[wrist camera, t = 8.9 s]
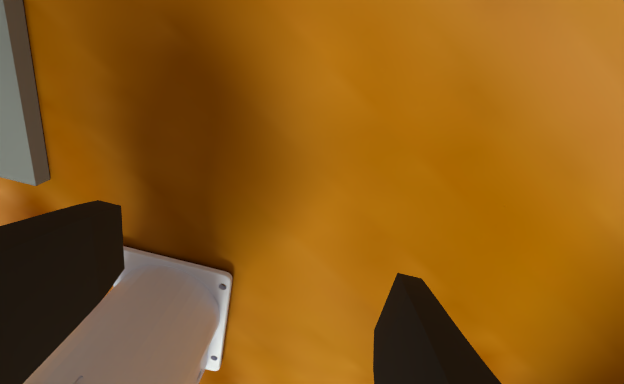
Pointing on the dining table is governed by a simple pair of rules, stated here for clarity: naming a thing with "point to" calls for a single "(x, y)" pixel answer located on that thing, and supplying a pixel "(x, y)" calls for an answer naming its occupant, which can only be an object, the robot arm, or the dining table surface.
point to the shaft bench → (19, 102)
